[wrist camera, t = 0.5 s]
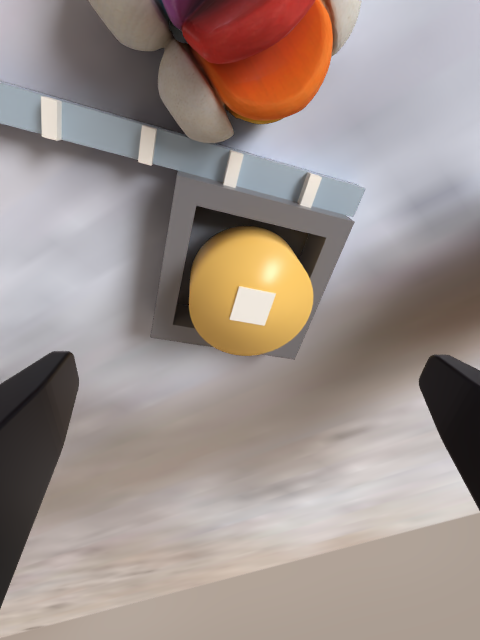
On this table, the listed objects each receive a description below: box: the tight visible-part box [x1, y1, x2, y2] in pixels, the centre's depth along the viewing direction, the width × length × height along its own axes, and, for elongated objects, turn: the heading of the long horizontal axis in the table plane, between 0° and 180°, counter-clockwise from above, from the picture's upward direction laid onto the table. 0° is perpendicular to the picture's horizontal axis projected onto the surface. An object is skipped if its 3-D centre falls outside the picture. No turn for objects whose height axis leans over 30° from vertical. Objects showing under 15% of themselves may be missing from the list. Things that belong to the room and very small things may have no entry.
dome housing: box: [150, 171, 354, 360], centre depth 20 cm, size 9×9×2 cm
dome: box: [189, 226, 313, 356], centre depth 18 cm, size 6×6×3 cm
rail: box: [0, 81, 365, 217], centre depth 16 cm, size 20×2×2 cm, turn 75°
